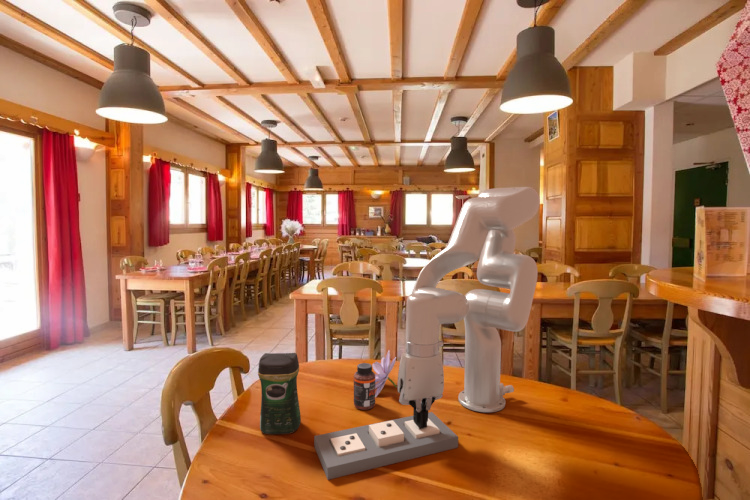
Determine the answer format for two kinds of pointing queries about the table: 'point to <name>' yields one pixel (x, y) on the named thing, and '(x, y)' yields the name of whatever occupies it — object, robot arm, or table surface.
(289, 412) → the coffee jar
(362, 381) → the supplement bottle
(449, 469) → the table surface
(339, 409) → the table surface
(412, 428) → the tile
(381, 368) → the water lily
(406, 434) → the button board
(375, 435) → the tile
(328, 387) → the table surface
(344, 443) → the tile
